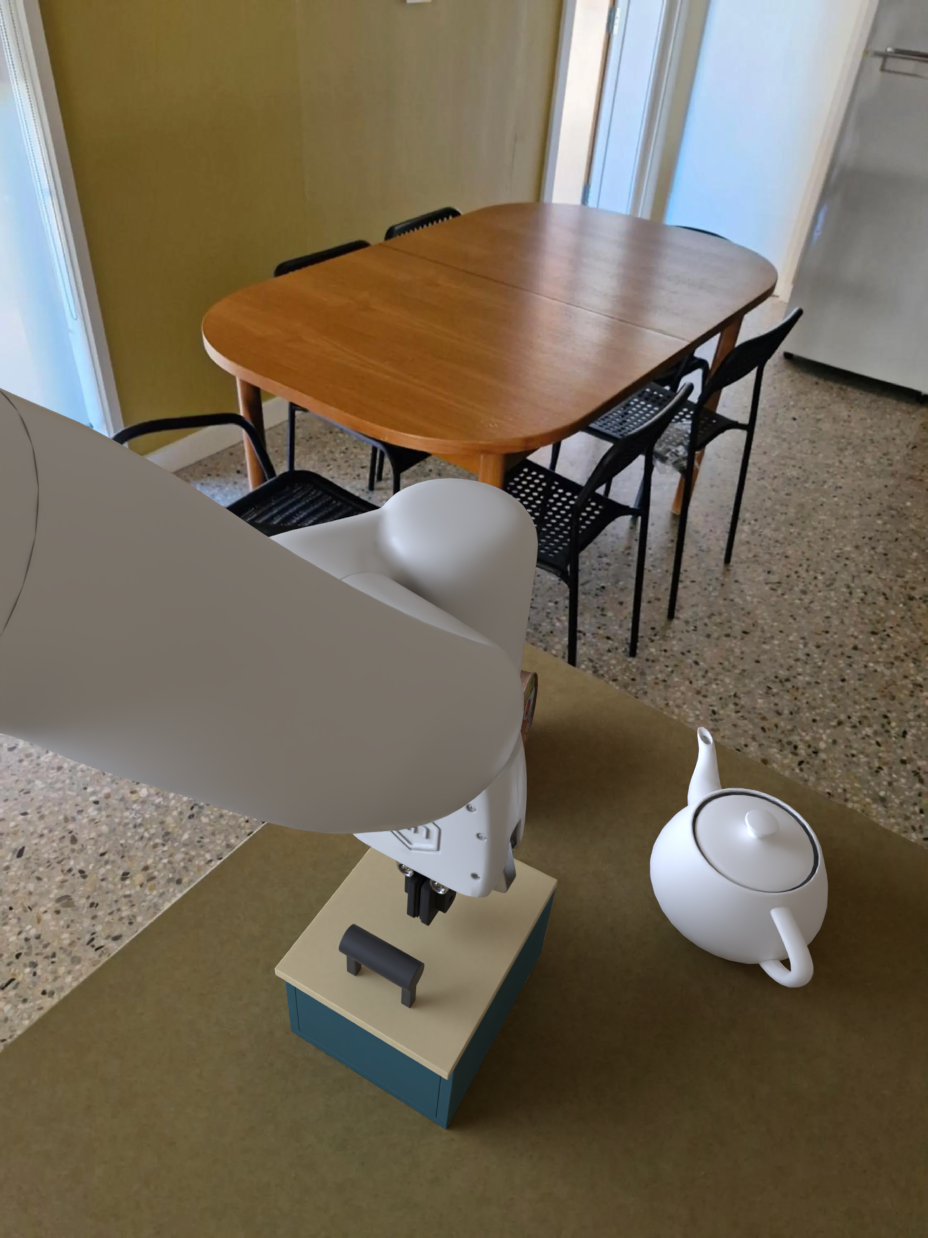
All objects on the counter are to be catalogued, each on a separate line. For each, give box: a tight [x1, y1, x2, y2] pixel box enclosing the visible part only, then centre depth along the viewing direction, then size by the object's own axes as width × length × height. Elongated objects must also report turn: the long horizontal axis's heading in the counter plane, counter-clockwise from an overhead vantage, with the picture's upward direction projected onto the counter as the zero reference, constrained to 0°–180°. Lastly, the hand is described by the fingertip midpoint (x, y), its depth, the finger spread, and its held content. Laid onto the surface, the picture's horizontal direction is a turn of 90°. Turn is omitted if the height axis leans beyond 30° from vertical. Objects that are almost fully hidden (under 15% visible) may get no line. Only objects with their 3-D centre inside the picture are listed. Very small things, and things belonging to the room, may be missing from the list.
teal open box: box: [284, 887, 557, 1130], centre depth 62 cm, size 15×13×9 cm
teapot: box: [649, 726, 829, 988], centre depth 70 cm, size 22×14×11 cm, turn 8°
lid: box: [274, 847, 558, 1080], centre depth 58 cm, size 15×13×5 cm
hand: (429, 903), depth 58 cm, fingers closed
